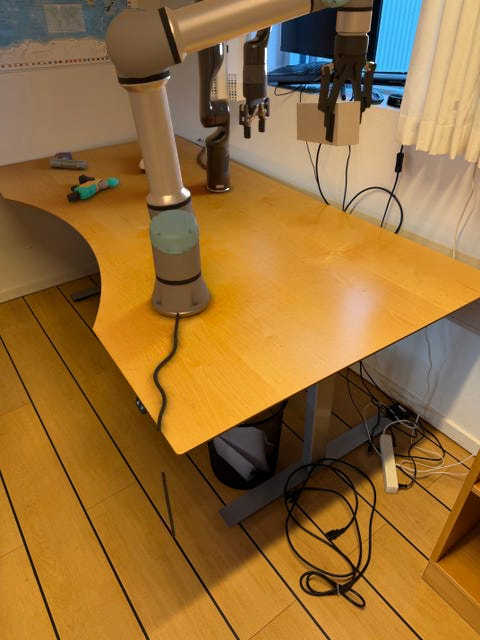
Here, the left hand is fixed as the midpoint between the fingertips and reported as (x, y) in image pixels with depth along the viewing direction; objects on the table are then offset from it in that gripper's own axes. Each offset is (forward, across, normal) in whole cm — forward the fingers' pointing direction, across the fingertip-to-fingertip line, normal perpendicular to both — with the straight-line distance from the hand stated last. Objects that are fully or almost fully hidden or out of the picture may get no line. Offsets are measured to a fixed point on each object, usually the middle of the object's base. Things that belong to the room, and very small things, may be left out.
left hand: (340, 139), depth 121 cm
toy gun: (+36, +71, -120) cm, 144 cm away
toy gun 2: (+36, +66, -82) cm, 112 cm away
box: (+3, 0, -8) cm, 9 cm away
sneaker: (+36, +33, -108) cm, 119 cm away
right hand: (+8, +10, -40) cm, 42 cm away
